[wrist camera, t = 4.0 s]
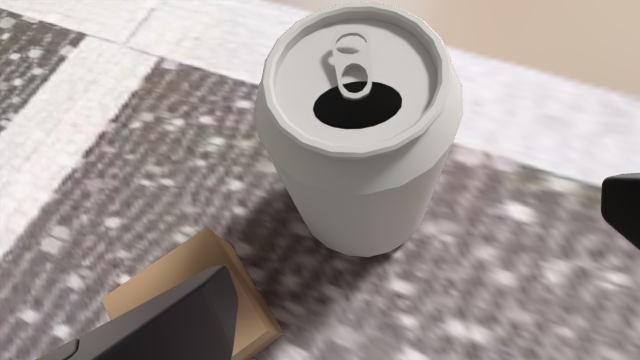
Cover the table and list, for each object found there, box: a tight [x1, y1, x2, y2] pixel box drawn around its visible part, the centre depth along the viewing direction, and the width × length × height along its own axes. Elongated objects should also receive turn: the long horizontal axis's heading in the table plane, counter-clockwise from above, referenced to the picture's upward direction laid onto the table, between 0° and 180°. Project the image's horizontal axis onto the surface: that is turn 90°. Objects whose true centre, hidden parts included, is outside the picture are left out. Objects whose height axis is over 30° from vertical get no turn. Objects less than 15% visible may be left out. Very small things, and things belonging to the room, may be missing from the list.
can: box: [254, 2, 463, 257], centre depth 18 cm, size 8×8×12 cm
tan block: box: [102, 227, 285, 360], centre depth 20 cm, size 6×6×4 cm
